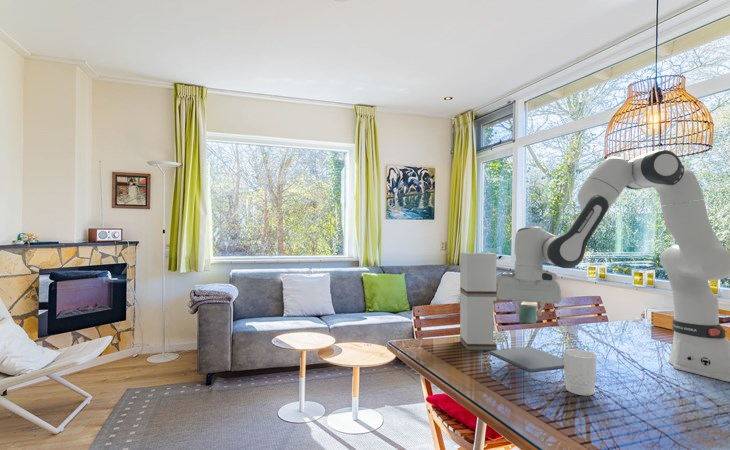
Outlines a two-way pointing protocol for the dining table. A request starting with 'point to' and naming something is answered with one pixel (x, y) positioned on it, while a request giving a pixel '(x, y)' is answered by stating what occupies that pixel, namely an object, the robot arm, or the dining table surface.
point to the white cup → (580, 371)
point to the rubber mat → (530, 358)
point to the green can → (528, 312)
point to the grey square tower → (477, 300)
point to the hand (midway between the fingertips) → (528, 314)
